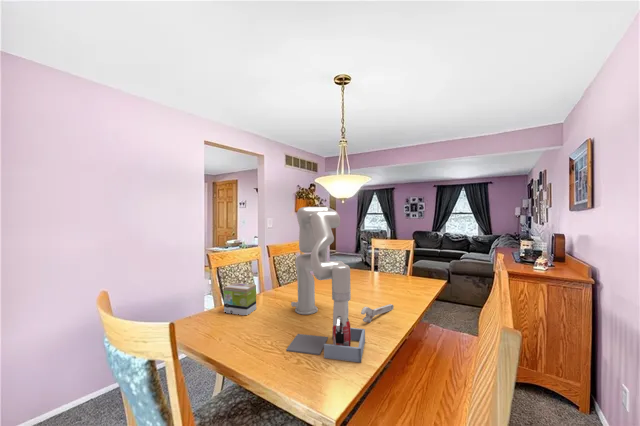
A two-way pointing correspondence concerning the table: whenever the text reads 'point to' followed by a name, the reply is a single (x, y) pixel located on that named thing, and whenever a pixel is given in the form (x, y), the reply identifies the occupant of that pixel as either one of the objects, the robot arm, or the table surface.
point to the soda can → (346, 334)
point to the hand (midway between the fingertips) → (342, 337)
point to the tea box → (240, 298)
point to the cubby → (347, 348)
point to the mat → (307, 344)
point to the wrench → (375, 312)
